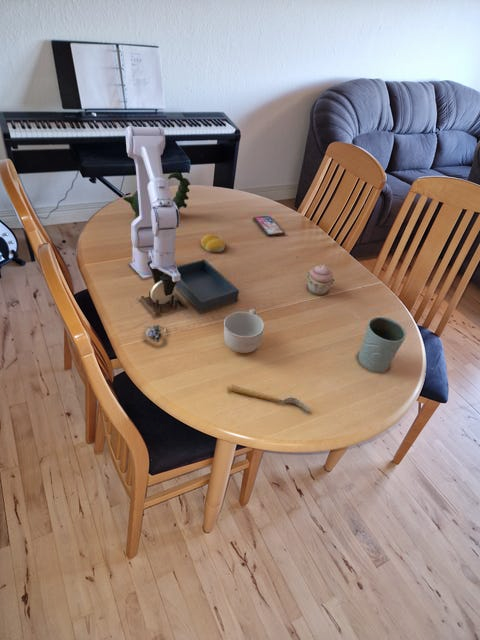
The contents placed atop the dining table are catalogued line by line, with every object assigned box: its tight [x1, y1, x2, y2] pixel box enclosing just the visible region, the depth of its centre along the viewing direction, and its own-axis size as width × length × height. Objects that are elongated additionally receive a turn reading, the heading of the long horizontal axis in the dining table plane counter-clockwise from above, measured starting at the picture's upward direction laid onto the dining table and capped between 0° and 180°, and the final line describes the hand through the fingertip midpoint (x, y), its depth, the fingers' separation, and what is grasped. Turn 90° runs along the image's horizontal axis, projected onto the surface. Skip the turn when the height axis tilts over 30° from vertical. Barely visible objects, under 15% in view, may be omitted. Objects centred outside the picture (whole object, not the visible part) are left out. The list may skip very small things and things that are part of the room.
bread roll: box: [200, 233, 226, 253], centre depth 159 cm, size 8×9×4 cm
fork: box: [229, 384, 311, 413], centre depth 106 cm, size 2×2×20 cm
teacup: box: [223, 308, 265, 354], centre depth 120 cm, size 14×11×8 cm
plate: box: [150, 280, 177, 304], centre depth 127 cm, size 1×8×8 cm, turn 126°
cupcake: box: [306, 263, 336, 296], centre depth 144 cm, size 9×9×10 cm
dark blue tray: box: [175, 258, 240, 313], centre depth 137 cm, size 20×14×4 cm
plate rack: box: [140, 291, 186, 317], centre depth 129 cm, size 9×10×3 cm
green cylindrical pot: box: [358, 316, 407, 373], centre depth 119 cm, size 10×10×12 cm
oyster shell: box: [144, 324, 168, 343], centre depth 118 cm, size 7×8×2 cm
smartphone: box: [253, 215, 285, 237], centre depth 178 cm, size 8×1×15 cm
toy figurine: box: [122, 171, 191, 219], centre depth 166 cm, size 9×19×25 cm
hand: (163, 289), depth 127 cm, fingers open, 5 cm apart
